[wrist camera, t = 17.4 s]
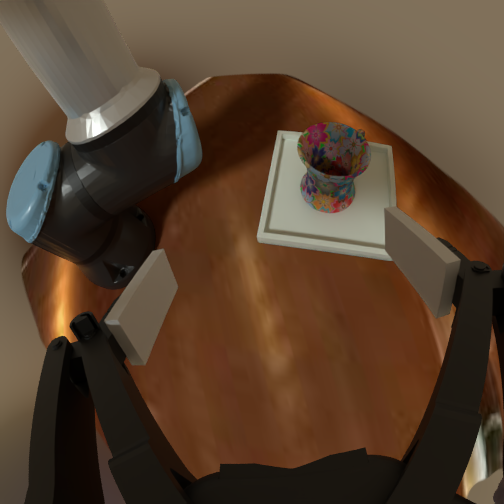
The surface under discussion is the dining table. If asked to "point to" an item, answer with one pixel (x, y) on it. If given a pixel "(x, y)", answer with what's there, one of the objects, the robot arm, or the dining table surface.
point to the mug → (332, 164)
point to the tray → (327, 224)
